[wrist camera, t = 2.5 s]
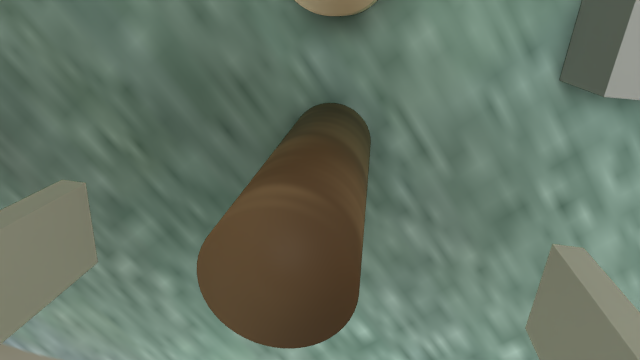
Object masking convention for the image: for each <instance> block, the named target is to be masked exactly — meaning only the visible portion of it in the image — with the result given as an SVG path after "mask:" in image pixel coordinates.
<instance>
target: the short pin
mask: <svg viewBox="0 0 640 360" xmlns="http://www.w3.org/2000/svg"><path fill="white" fill-rule="evenodd" d="M295 1H296V2H297V3H298V4H299V5H301V6H302V7H304V8H305V9H307V10H309V11H311V12H313V13H317V14H320V15H325V16H348V15H354V14H358V13H361V12H363V11H365V10H367V9H368V8H370V7H371V6H372V5H374V4H375V3H376V2H377V1H378V0H295Z"/></svg>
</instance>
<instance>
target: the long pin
mask: <svg viewBox="0 0 640 360" xmlns="http://www.w3.org/2000/svg"><path fill="white" fill-rule="evenodd" d="M370 144H371V140H370V133H369V130H368V127H367V125H366V123H365V121H364V120H363V119H362V117H361V116H360V115H359V114H358V113H357V112H355V111H354V110H352V109H351V108H349V107H347V106H345V105H341V104H337V103H324V104H319V105H317V106H314V107H312V108H310V109H309V110H307V111H306V112H305V113H304V114H303V115H302V116H301V117H300V118H299V120H298V121H297V122H296V124H295V125H294V126H293V127H292V129H291V130H290V131H289V132H288V134H287V135H286V136H285V138H284V139H283V140H282V141H281V143H280V144H279V145H278V147H277V148H276V149H275V150H274V152H273V153H272V154H271V156H270V157H269V158H268V159H267V161H266V162H265V163H264V165H263V166H262V167H261V168H260V170H259V171H258V172H257V174H256V175H255V176H254V177H253V179H252V180H251V181H250V183H249V184H248V185H247V186H246V188H245V189H244V190H243V191H242V193H241V194H240V195H239V197H238V198H237V199H236V200H235V202H234V203H233V204H232V206H231V207H230V208H229V209H228V211H227V212H226V213H225V215H224V216H223V217H222V218H221V220H220V221H219V222H218V224H217V225H216V226H215V227H214V229H213V230H212V231H211V233H210V234H209V235H208V236H207V238H206V239H205V241H204V243H203V245H202V247H201V249H200V252H199V255H198V261H197V277H198V283H199V287H200V290H201V293H202V295H203V297H204V299H205V301H206V303H207V305H208V306H209V308H210V309H211V310H212V312H213V313H214V314H215V315H216V316H217V317H218V319H219V320H220V321H221V322H222V323H224V324H225V325H226V326H227V327H228V328H230V329H231V330H233V331H234V332H236V333H237V334H239V335H241V336H242V337H244V338H246V339H249V340H251V341H253V342H256V343H259V344H262V345H266V346H271V347H277V348H301V347H307V346H311V345H315V344H318V343H320V342H323V341H325V340H327V339H329V338H330V337H332V336H333V335H335V334H336V333H338V332H339V331H340V330H341V329H342V328H343V327H344V326H345V325H346V324H347V322H348V321H349V320H350V318H351V316H352V315H353V313H354V311H355V308H356V305H357V302H358V297H359V286H360V273H361V261H362V248H363V235H364V222H365V209H366V196H367V183H368V170H369V157H370Z"/></svg>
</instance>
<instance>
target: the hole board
mask: <svg viewBox="0 0 640 360" xmlns="http://www.w3.org/2000/svg"><path fill="white" fill-rule="evenodd" d="M560 81H562V82H565V83H568V84H571V85H573V86H576V87H579V88H581V89H584V90H587V91H589V92H592V93H595V94H598V95H600V96H603V97H612V98H623V99H634V100H640V0H582V3H581V7H580V10H579V14H578V17H577V20H576V24H575V27H574V31H573V34H572V38H571V41H570V45H569V48H568V52H567V55H566V59H565V62H564V66H563V69H562V73H561V76H560Z"/></svg>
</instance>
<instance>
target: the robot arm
mask: <svg viewBox="0 0 640 360" xmlns="http://www.w3.org/2000/svg"><path fill="white" fill-rule="evenodd" d="M97 263H98V260H97V253H96V247H95V240H94V234H93V227H92V221H91V214H90V208H89V201H88V195H87V188H86V183H83V182H75V181H68V180H60V181H58V182H56V183H54V184H52V185H50V186H48V187H46V188H44V189H42V190H40V191H38V192H36V193H34V194H32V195H30V196H28V197H26V198H24V199H22V200H20V201H18V202H16V203H14V204H12V205H10V206H8V207H6V208H4V209H2V210H0V344H1V343H3V342H4V341H5V340H6V339H7V338H8V337H10V336H11V335H12V334H13V333H14V332H16V331H17V330H18V329H19V328H20V327H22V326H23V325H24V324H25V323H26V322H28V321H29V320H30V319H31V318H32V317H33V316H35V315H36V314H37V313H38V312H39V311H41V310H42V309H43V308H44V307H45V306H47V305H48V304H49V303H50V302H51V301H52V300H54V299H55V298H56V297H57V296H58V295H60V294H61V293H62V292H63V291H64V290H66V289H67V288H68V287H69V286H70V285H72V284H73V283H74V282H75V281H76V280H77V279H79V278H80V277H81V276H82V275H83V274H85V273H86V272H87V271H88V270H89V269H91V268H92V267H93V266H94V265H95V264H97ZM525 329H526V331H527V333H528V335H529V337H530V340H531V342H532V344H533V346H534V348H535V351H536V353H537V355H538V357H539V360H640V312H639V311H638V310H637V309H636V308H635V307H634V305H633V304H632V303H631V302H630V301H629V300H628V299H627V297H626V296H625V295H624V294H623V293H622V292H621V290H620V289H619V288H618V287H617V286H616V285H615V284H614V282H613V281H612V280H611V279H610V278H609V277H608V275H607V274H606V273H605V272H604V271H603V270H602V269H601V267H600V266H599V265H598V264H597V263H596V262H595V260H594V259H593V258H592V257H591V256H590V255H589V253H588V252H587V251H586V250H585V249H584V248H580V247H572V246H565V245H557V244H552V247H551V250H550V253H549V256H548V259H547V262H546V266H545V269H544V272H543V275H542V278H541V281H540V284H539V287H538V290H537V293H536V297H535V300H534V303H533V306H532V309H531V312H530V315H529V318H528V321H527V324H526V328H525Z"/></svg>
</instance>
